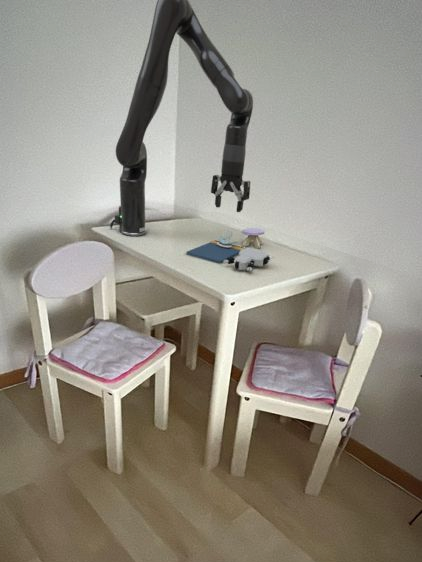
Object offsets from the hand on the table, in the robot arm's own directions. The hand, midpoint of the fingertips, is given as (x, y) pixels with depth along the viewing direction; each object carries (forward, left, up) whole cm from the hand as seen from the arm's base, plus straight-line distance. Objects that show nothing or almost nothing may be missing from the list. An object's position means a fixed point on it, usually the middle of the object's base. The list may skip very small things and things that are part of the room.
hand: (228, 209), depth 153 cm
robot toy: (+16, -12, -14) cm, 25 cm away
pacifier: (0, 0, -13) cm, 13 cm away
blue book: (0, -6, -14) cm, 15 cm away
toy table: (+5, +12, -14) cm, 20 cm away
